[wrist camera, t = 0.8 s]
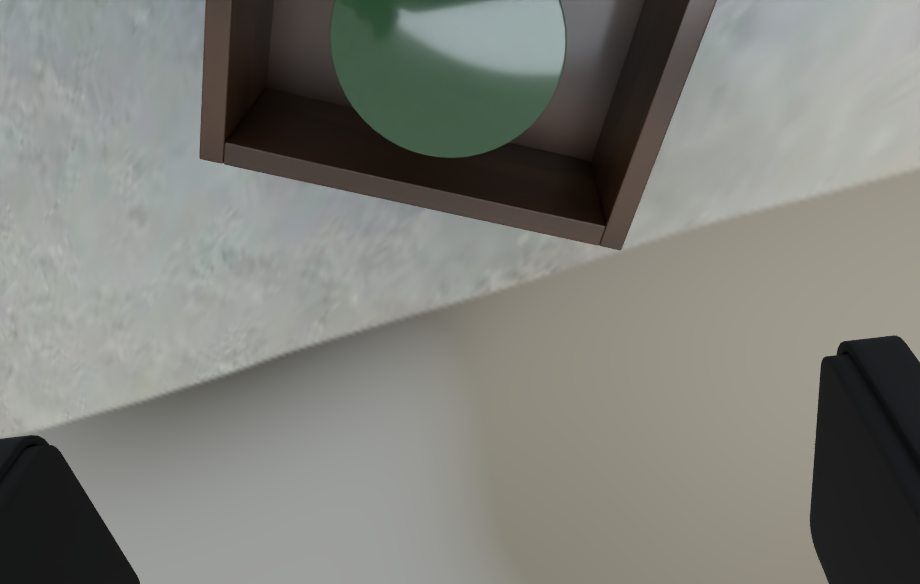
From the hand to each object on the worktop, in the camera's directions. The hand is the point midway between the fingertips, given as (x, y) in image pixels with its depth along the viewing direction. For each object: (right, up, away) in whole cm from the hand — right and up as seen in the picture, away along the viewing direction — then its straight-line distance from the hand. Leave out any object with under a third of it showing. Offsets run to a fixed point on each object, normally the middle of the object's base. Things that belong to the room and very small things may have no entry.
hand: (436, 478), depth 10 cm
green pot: (0, +13, +18) cm, 23 cm away
